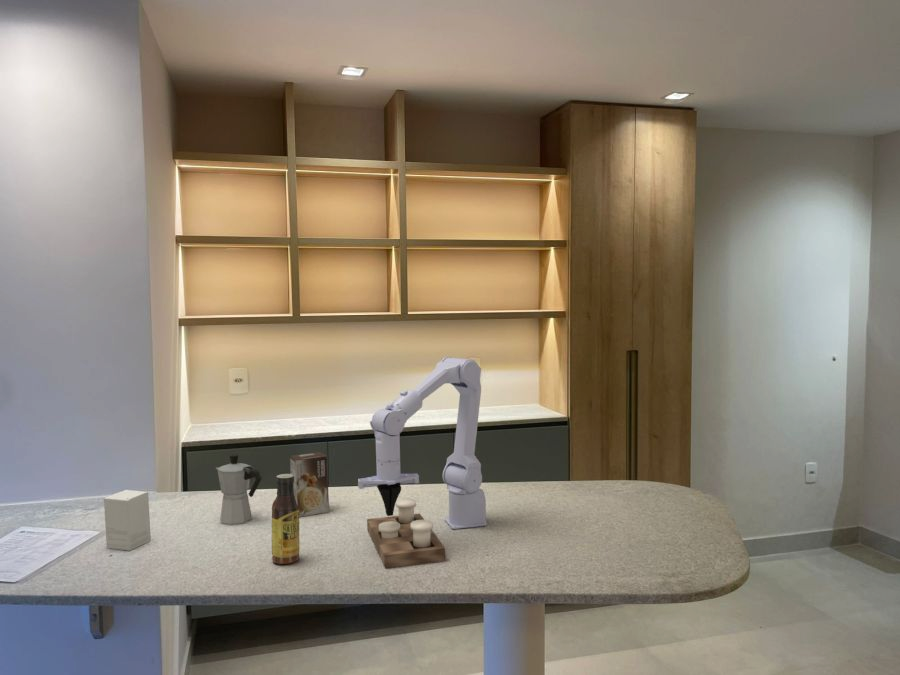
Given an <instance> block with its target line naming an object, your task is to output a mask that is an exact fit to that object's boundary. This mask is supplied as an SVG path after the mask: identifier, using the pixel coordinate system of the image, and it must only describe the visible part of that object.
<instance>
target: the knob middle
mask: <svg viewBox="0 0 900 675" xmlns="http://www.w3.org/2000/svg"><path fill="white" fill-rule="evenodd" d="M399 530H400V523H398V522H393V521H388V522H383V523H380V524H379V531H380V532H381V539H387V538H396V537H398V531H399Z"/></svg>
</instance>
